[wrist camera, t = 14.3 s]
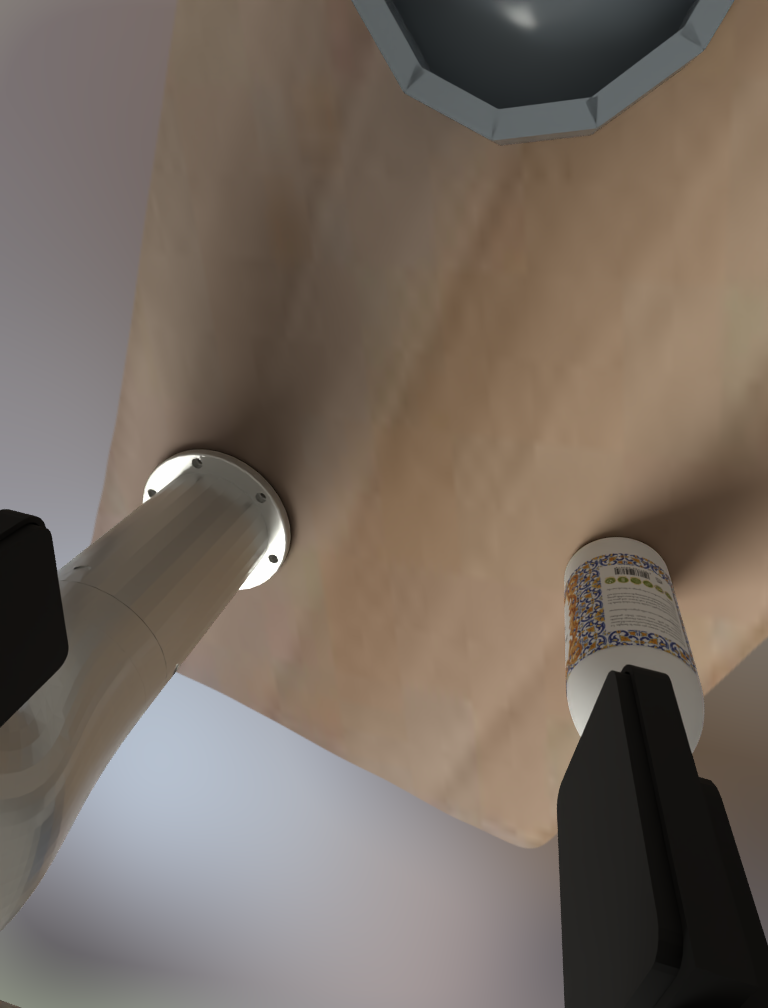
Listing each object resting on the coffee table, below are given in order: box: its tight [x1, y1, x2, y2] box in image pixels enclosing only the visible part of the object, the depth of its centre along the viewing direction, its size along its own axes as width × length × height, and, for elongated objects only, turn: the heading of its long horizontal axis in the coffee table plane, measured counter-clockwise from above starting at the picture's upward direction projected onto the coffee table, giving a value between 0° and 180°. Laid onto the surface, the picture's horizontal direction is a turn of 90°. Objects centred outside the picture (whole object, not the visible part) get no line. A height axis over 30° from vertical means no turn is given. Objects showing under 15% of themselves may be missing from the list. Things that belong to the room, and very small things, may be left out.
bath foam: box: [564, 537, 704, 753], centre depth 34 cm, size 7×7×20 cm
